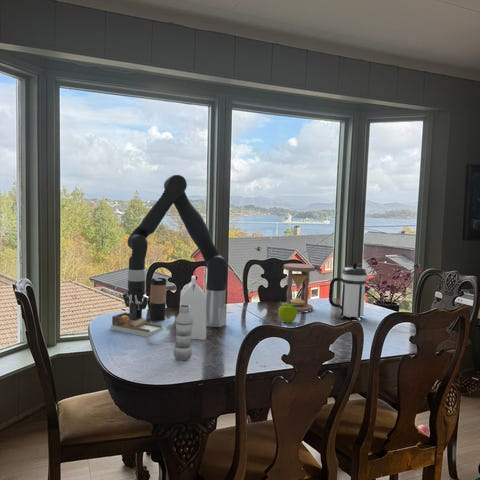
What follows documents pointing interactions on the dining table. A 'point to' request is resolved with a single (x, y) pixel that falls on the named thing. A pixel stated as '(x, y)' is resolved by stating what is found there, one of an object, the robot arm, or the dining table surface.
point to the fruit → (287, 312)
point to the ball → (125, 318)
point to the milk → (195, 307)
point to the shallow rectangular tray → (139, 329)
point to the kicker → (134, 317)
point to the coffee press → (351, 291)
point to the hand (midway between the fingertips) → (135, 316)
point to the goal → (118, 319)
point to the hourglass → (299, 279)
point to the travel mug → (158, 299)
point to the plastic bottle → (183, 334)
